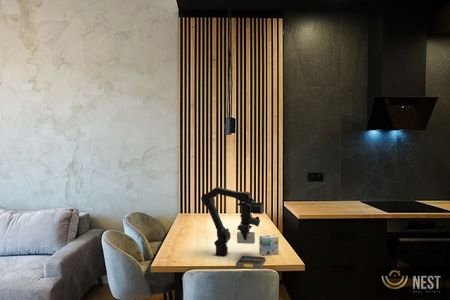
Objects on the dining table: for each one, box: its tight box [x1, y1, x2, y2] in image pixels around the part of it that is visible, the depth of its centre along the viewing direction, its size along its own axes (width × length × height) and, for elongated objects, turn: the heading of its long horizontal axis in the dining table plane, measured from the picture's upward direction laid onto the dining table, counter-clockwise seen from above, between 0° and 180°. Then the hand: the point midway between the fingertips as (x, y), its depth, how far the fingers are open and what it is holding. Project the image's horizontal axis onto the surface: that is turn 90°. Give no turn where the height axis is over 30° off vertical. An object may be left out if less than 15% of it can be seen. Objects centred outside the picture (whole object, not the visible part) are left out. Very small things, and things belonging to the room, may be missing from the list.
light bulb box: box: [258, 234, 280, 256], centre depth 226 cm, size 11×7×11 cm, turn 103°
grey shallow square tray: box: [235, 254, 266, 269], centre depth 206 cm, size 14×15×2 cm
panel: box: [236, 231, 256, 245], centre depth 218 cm, size 10×4×6 cm, turn 75°
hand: (246, 239), depth 218 cm, fingers closed on panel, 4 cm apart
